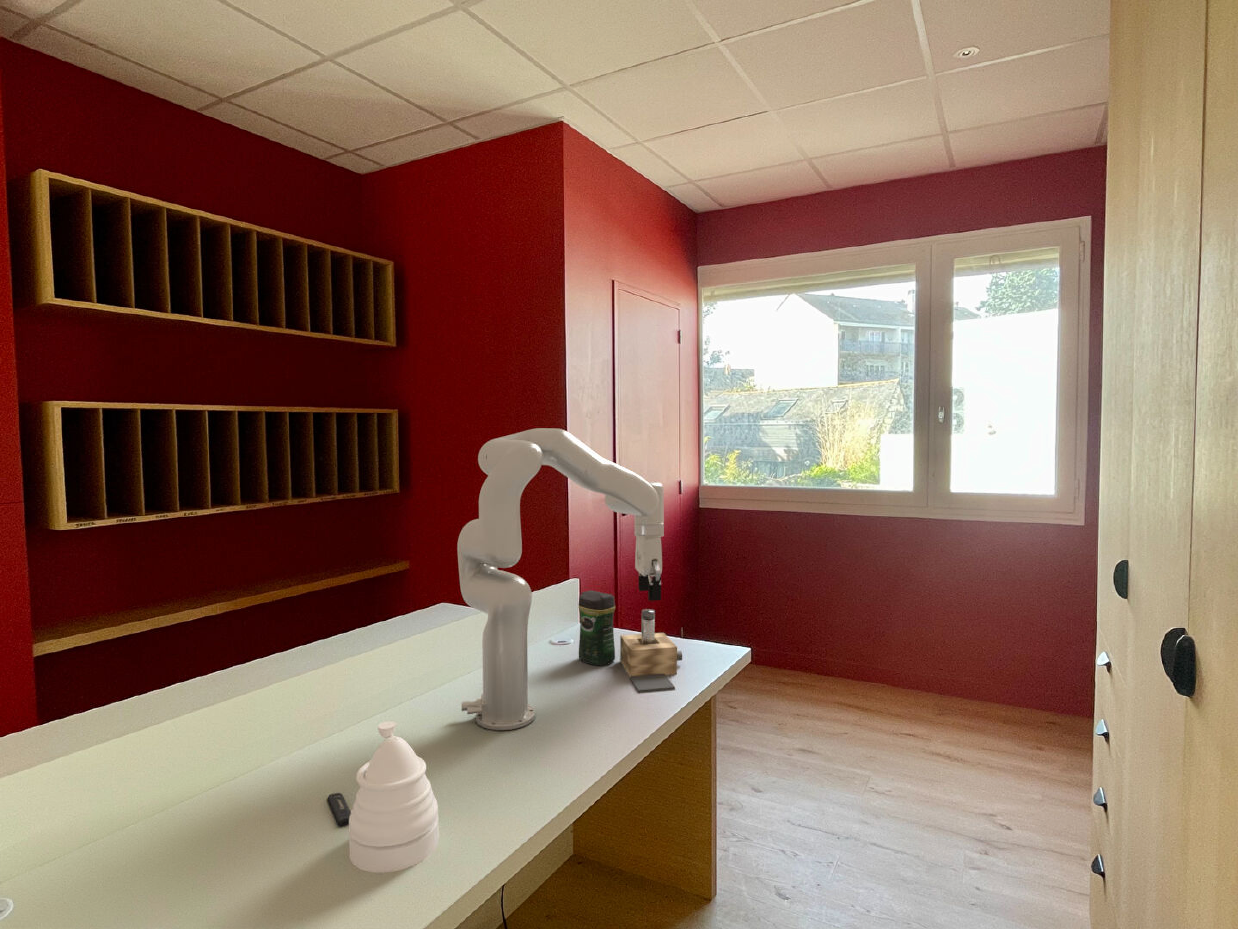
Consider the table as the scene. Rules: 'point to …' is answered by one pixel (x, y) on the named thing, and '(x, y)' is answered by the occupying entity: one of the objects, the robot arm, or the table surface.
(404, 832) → the honey pot
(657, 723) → the table surface
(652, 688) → the mat
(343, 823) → the usb stick
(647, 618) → the metal cylinder
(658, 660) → the block
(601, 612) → the coffee jar
